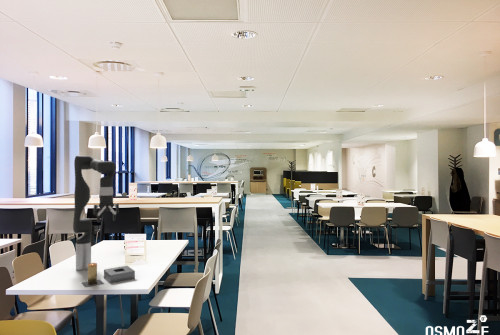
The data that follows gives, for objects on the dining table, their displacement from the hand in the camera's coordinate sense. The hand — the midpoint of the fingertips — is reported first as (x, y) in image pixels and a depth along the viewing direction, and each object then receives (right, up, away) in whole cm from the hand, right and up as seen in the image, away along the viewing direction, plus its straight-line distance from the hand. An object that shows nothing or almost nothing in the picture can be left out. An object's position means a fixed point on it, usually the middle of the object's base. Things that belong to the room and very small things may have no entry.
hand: (106, 221), depth 215 cm
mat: (-4, -34, -10) cm, 36 cm away
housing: (+8, -34, 0) cm, 35 cm away
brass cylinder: (-4, -34, -10) cm, 35 cm away
